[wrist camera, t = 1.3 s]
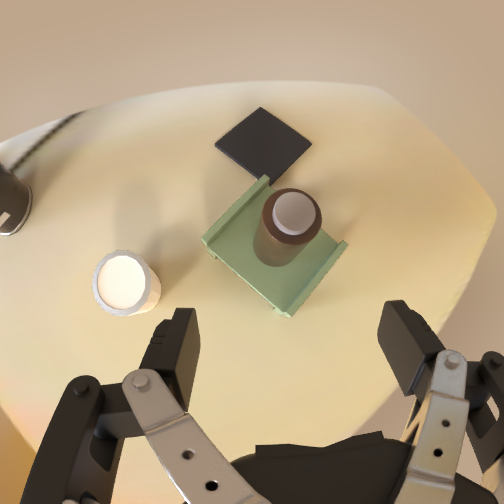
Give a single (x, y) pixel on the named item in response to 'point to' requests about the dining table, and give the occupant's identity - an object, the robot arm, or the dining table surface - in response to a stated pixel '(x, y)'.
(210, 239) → the tray
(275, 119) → the mat
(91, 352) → the dining table surface
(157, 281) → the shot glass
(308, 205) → the brown bottle
